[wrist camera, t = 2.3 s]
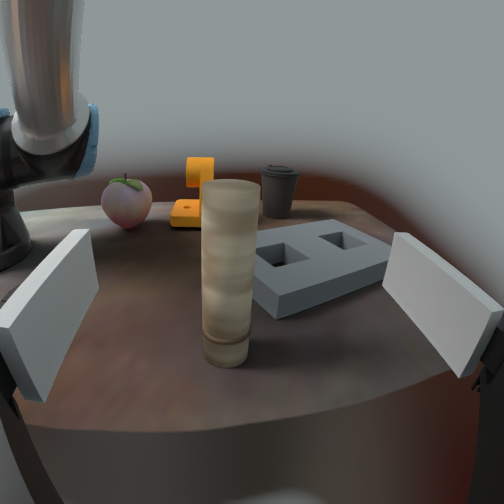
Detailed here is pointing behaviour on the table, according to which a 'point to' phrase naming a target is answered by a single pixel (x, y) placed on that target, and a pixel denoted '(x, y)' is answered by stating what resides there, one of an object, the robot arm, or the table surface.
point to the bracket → (196, 175)
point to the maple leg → (228, 268)
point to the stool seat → (314, 265)
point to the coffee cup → (278, 190)
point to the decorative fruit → (126, 202)
